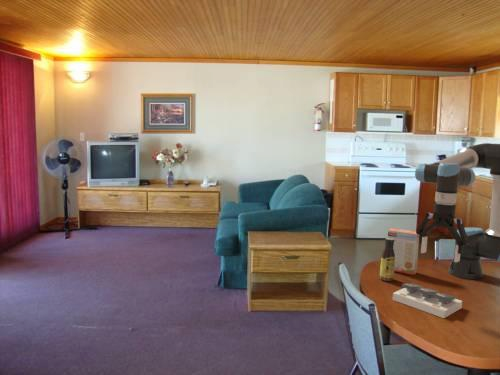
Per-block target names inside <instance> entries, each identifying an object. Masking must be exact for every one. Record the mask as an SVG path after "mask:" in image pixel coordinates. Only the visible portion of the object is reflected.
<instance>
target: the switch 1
mask: <svg viewBox="0 0 500 375" xmlns="http://www.w3.org/2000/svg"><path fill="white" fill-rule="evenodd" d="M401 288H402V289H403V288H406V289H409V290H417V289H422V288H423V286H422V285H418V284H416V283H413V282H412V283H401Z"/></svg>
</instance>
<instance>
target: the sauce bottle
mask: <svg viewBox="0 0 500 375" xmlns="http://www.w3.org/2000/svg"><path fill="white" fill-rule="evenodd" d="M384 244H385V245H384V249H383V250H382V252H381V259H380V265H379V266H380V267H379V268H380V269H379V280H381V281H384V282H392V281H393V279H394V276H395V275H394V274H395V272H394V265H395V254H394V249H393V248H394V247H393V245H394V239H393V238H388V237H385V243H384Z"/></svg>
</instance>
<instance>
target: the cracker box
mask: <svg viewBox="0 0 500 375" xmlns="http://www.w3.org/2000/svg"><path fill="white" fill-rule="evenodd" d="M416 231H417V230H416ZM416 231H414V230H408V229H400V228H393V227H391V228H389V229H388V230H387V238H393V239H394V245H393V247H394V248H393V249H394V254H395V265H394V273H400V274H406V275H410V276H415V275H416V273H417V272H418V259H419V258H418V257H419V244H420V235H419V234H417V233H416Z"/></svg>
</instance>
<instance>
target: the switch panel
mask: <svg viewBox="0 0 500 375" xmlns="http://www.w3.org/2000/svg"><path fill="white" fill-rule="evenodd" d="M438 294H440V293H439V292H438ZM392 301H395V302H398V303H400V304H403V305H406V306H409V307H411V308H414V309H417V310H420V311H422V312H425V313H428V314H430V315H434V316H437V317H439V318H442V319H445V318H447V317H449V316H450V315H452V314H454V313H455V312H457V311H459V310H461V309H462V308H463V300H460V299H457V298H455V300H452V301H443V300H440V299H437V298H434V295H424V294H421V293H418V292H417V290H409V289H406V288H403V287H402V288H401V289H399V290H396V291H395V292H392Z"/></svg>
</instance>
